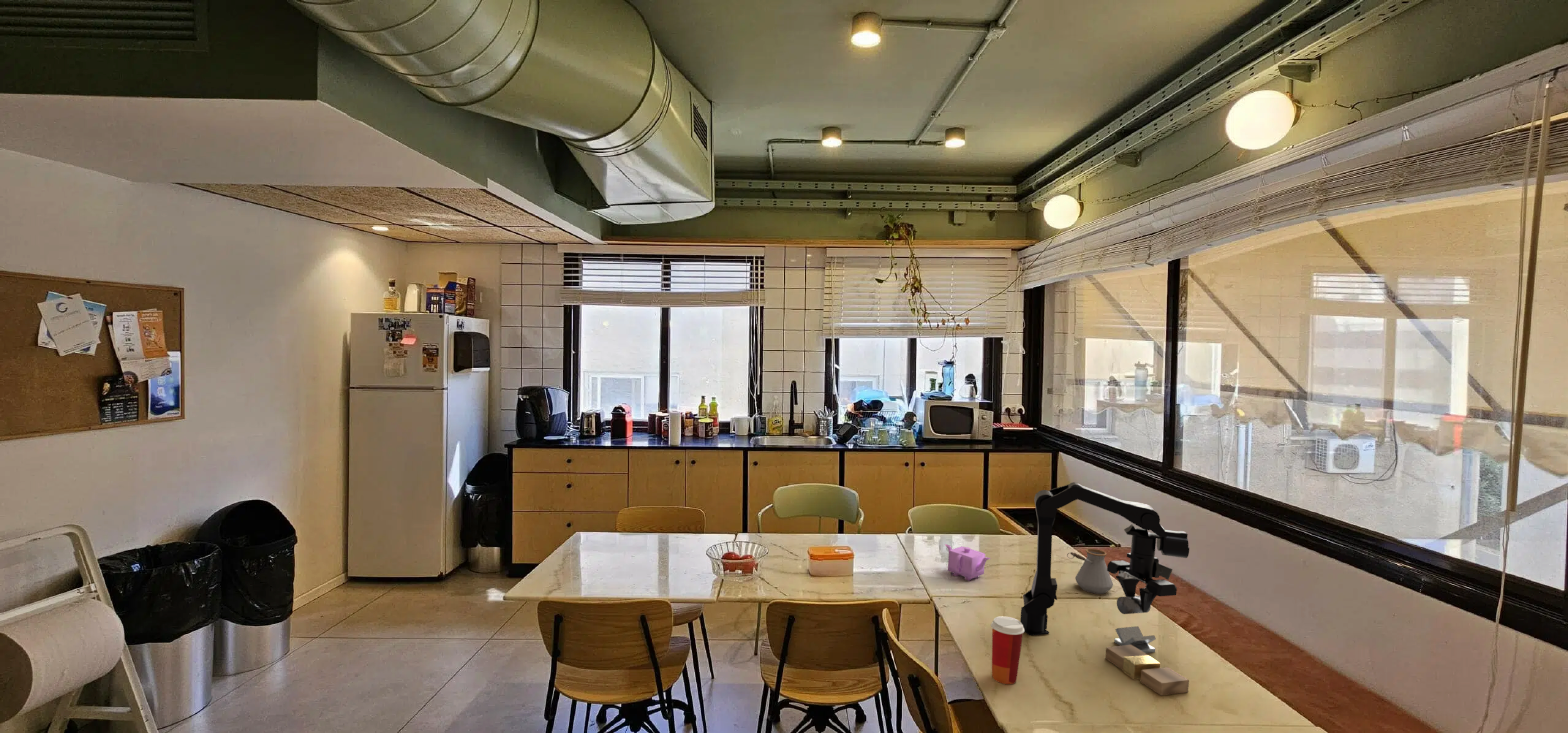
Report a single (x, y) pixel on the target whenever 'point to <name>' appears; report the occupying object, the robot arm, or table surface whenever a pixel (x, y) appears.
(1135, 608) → the dark grey rounded block
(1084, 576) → the coffee pot
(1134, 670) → the block
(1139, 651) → the beam
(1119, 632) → the v block
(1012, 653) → the paper cup
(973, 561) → the teapot
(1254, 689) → the table surface
